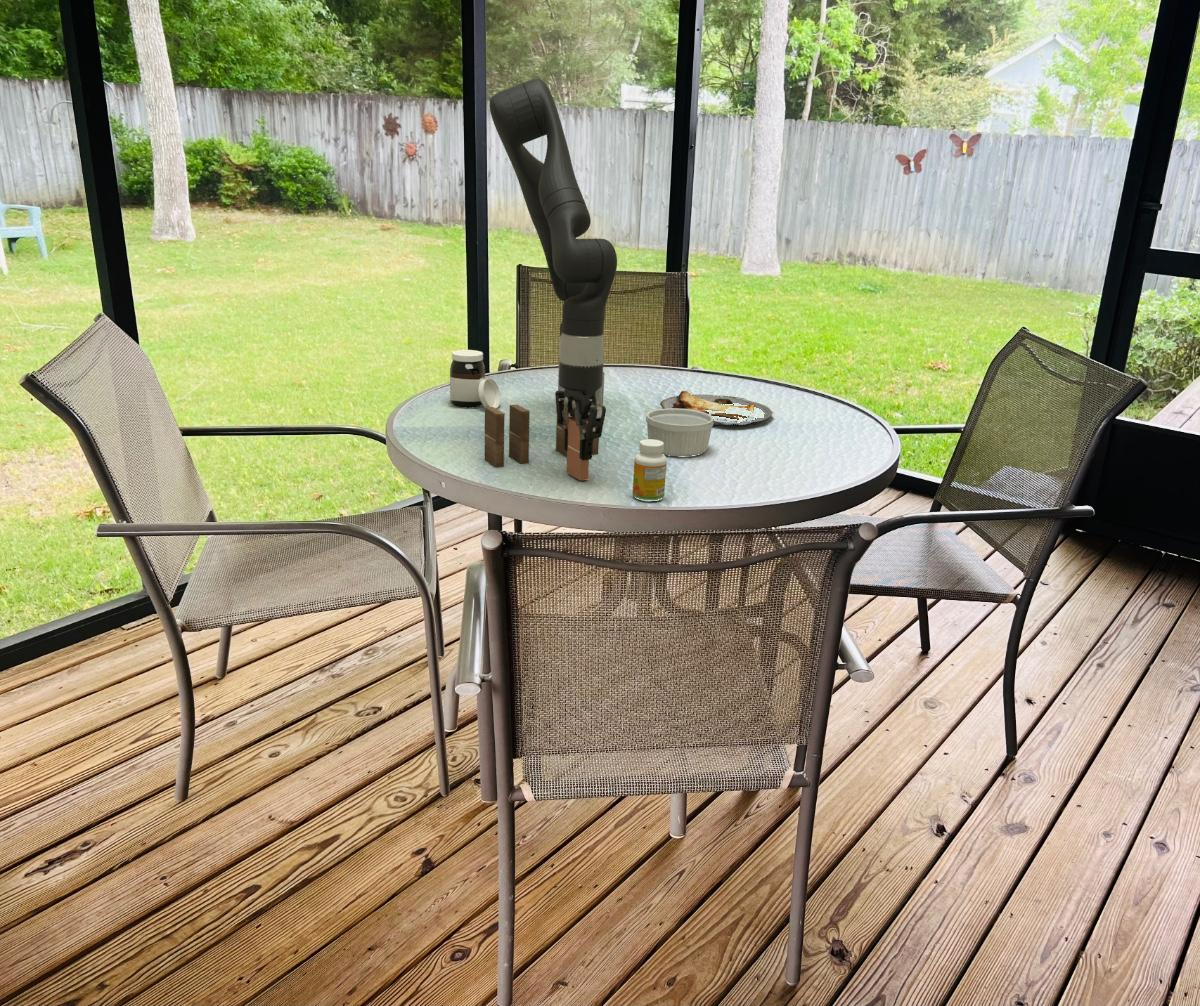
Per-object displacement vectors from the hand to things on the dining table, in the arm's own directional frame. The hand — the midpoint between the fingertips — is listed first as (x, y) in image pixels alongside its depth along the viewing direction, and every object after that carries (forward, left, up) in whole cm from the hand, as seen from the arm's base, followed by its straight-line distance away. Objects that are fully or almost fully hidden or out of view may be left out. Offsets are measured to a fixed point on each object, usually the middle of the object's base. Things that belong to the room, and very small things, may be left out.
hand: (577, 454), depth 167 cm
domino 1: (+10, -13, -4) cm, 17 cm away
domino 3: (-5, -13, -4) cm, 15 cm away
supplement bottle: (-6, +14, -4) cm, 16 cm away
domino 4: (0, 0, -4) cm, 4 cm away
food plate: (-51, -26, -5) cm, 57 cm away
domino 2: (+5, -13, -4) cm, 15 cm away
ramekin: (-27, -7, -5) cm, 28 cm away
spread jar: (-4, -53, -4) cm, 53 cm away
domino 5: (-10, -13, -4) cm, 17 cm away
